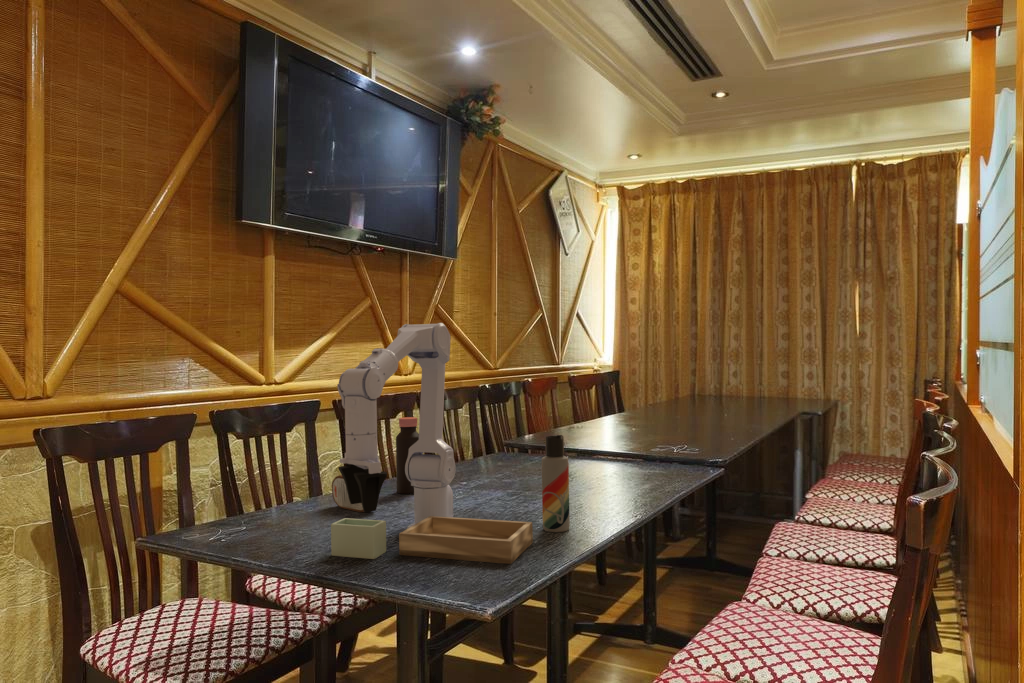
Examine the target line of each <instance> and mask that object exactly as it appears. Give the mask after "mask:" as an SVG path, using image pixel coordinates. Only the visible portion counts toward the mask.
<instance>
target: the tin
mask: <svg viewBox="0 0 1024 683" xmlns="http://www.w3.org/2000/svg"><path fill="white" fill-rule="evenodd" d="M331 493H332V499H333V501H334V502H335V504H336V506H337V507H339V508H340V509H344V510H347V511H348V510H349V511H353V512H356V513H365V512H364V510H363V507H362V503H357V504H350V501H349V497H348V493H347V488H346V484H345V481H344V479H343V477H342V474H340V475H337V476H335V477H334V478H333V480H332V481H331Z"/></svg>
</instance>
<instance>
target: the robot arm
mask: <svg viewBox="0 0 1024 683" xmlns="http://www.w3.org/2000/svg"><path fill="white" fill-rule="evenodd" d="M450 355H451V334H450V332H449V329H448V328H447V326H446V325H445V324H444V323H443V322H437V323H424V324H423V323H422V324H419V323H418V324H417V323H416V324H410V323H409V324H408V323H405V324H403V325H402V326H401V327H400V328H398V329H397V335H396V337H395V338H394V339H393V340H392V342H390V344H388V346H387V347H385V348H374V349H372V350H371V354H370V355H369V356H367V357H366V358H365V359H364V360H361V361H360V362H359V364H358V365H357V366H356V367H355V368H347V369H346V370H345V371H343V372H342V373H341V374H340V377H339V379H338V384H337V386H336V387H337V392H338V394H339V396H340V397H341V398H340V399H341V406H342V408H343V409H344V421H345V422H344V425H345V426H344V427H345V428H344V429H345V452H344V457H342V458H339V464H346V465H342V466H339V467H338V471H339V473H340V475H342V477H343V479H344V481H345V484H346V488H347V493H348V497H349V501H350V504H357V503H362V507H363V510H364V512H363V513H370V512H376V511H377V509H378V503H379V500H380V499H379V498H380V494H381V490H382V488H383V484H384V482H385V480H386V479H387V477H388V472H386V471H383V470H382V462H381V461H380V458H379V457H380V456H379V454H378V412H377V408H378V407H377V405H378V404H377V403H378V402H377V399H378V398H380V397H381V395H382V392H383V389H384V386H385V385H386V382H387V381H388V380H389V379H390V378H391V377H392V376H393V375H394V374H395V373H396V372H397V371H398V368H399V362H400V361H402V360H403V359H404V358H406V356H407V357H409V359H410V360H411V361H412V362H414V363H417V364H418V366H420V368H421V381H420V382H421V385H420V387H421V388H420V401H419V403H420V406H419V425H418V427H419V428H418V433H419V440H418V441H417V442H416V443H415V444H413V445H412V446H411V447H410V448H409V452H408V458H407V461H406V464H405V474H406V476H407V479H408V480H409V481H410V482H411V486H414V494H413V500H414V501H413V503H414V504H413V507H414V510H413V511H414V514H413V516H414V522H413V523H411V524H410V525H407V528H406V529H408V528H410V527H412V526H413V525H415V524H417V523H419V522H420V521H422V520H424V519H426V518H428V517H429V516H439V517H454V492H453V490H452V487H451V486H450V484H451V482H452V481H453V480H454V478H455V474H456V469H457V468H456V462H455V457H454V456H455V455H454V449H453V447H451V445H449V444H447V443H446V442H445V441H444V440H443V433H444V432H443V430H444V429H443V428H444V408H445V407H444V405H445V400H444V399H445V384H446V383H445V382H446V379H445V378H446V363H448V362H450ZM424 453H425V454H424ZM426 453H427V454H426ZM428 453H429V454H428ZM430 453H433V454H430Z"/></svg>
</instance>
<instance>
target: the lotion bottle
mask: <svg viewBox="0 0 1024 683" xmlns="http://www.w3.org/2000/svg"><path fill="white" fill-rule="evenodd" d="M564 439H565V438H564V435H562V434H556V435H555V434H554V435H548V436H545V456H543V457H542V458H541V499H542V500H541V501H542V502H541V503H542V504H541V505H542V506H541V510H542V512H541V513H542V529H543V530H544V531H545V532H549V533H562V532H563V533H564V532H567V531H569V530H570V523H571V521H570V517H571V516H570V479H569V477H570V474H569V472H570V468H569V467H570V466H569V457H567V456H565V445H564V444H565V441H564Z"/></svg>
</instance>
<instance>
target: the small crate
mask: <svg viewBox="0 0 1024 683" xmlns="http://www.w3.org/2000/svg"><path fill="white" fill-rule="evenodd" d="M330 540H331V541H330V542H331V543H330V544H331V546H330V547H331V548H330V549H331V552H330V553H331V554H330V555H331V556H333V557H334V556H335V557H343V558H344V557H346V558H356V559H367V560H368V559H370V560H375V559H377V558H378V557H380V556H382V555H383V554H385V553H386V552H387V521H386V520H378V519H365V518H364V519H363V518H348V517H345V518H341V519H339V520H337V521H334V522H332V523H331V524H330Z"/></svg>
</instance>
